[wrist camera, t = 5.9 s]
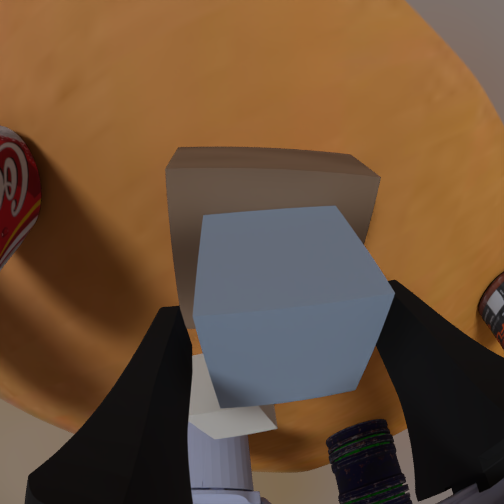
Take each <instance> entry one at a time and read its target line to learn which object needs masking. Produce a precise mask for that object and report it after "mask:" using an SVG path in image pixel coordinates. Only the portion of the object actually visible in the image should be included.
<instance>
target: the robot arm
mask: <svg viewBox="0 0 504 504" xmlns="http://www.w3.org/2000/svg"><path fill="white" fill-rule="evenodd" d="M388 282H389V284H390V286H391V287H392V289H393V290H394V292H395V295H394V298H393V300H392V303H391V306H390V309H389V312H388V314H387V317H386V320H385V322H384V325H383V328H382V330H381V333H380V335H379V338H378V340H377V343H376V346H377V349H378V351H379V353H380V356H381V358H382V360H383V362H384V365H385V367H386V369H387V371H388V374H389V376H390V378H391V380H392V383H393V385H394V387H395V390H396V392H397V394H398V397H399V400H400V402H401V405H402V409H403V412H404V416H405V420H406V424H407V428H408V433H409V437H410V442H411V448H412V454H413V462H414V472H415V493H416V497H417V500H418V501H422V500H424V499H427V498H430V497H432V496H435V495H437V494H440V493H442V492H444V491H446V490H448V489H450V488H452V491H453V495H451V496H450V497H448V498H446V499H444V500H442V501H440V502H439V503H437V504H504V358H503V357H501V356H499V355H497V354H496V353H494V352H492V351H490V350H489V349H487V348H486V347H484V346H482V345H481V344H479V343H478V342H476V341H475V340H473V339H472V338H470V337H469V336H467V335H466V334H464V333H463V332H462V331H460V330H459V329H458V328H456V327H455V326H454V325H452V324H451V323H450V322H448V321H447V320H446V319H444V318H443V317H442V316H441V315H439V314H438V313H437V312H436V311H434V310H433V309H432V308H431V307H429V306H428V305H427V304H426V303H425V302H423V301H422V300H421V299H420V298H418V297H417V296H416V295H415V294H413V293H412V292H411V291H410V290H408V289H407V288H406V287H404V286H403V285H402V284H400V283H399V282H398V281H396V280H391V281H388ZM192 373H193V369H192V344H191V341H190V338H189V335H188V332H187V329H186V326H185V323H184V319H183V316H182V313H181V310H180V307H179V306H172V307H161V308H160V309H159V311H158V313H157V315H156V317H155V318H154V320H153V322H152V324H151V326H150V328H149V329H148V331H147V333H146V335H145V337H144V338H143V340H142V342H141V344H140V345H139V347H138V349H137V350H136V352H135V354H134V355H133V357H132V359H131V360H130V362H129V364H128V365H127V367H126V368H125V370H124V371H123V373H122V374H121V376H120V378H119V379H118V381H117V382H116V384H115V385H114V387H113V388H112V389H111V391H110V392H109V394H108V395H107V396H106V398H105V399H104V400H103V402H102V403H101V404H100V406H99V407H98V408H97V409H96V411H95V412H94V413H93V414H92V415H91V417H90V418H89V419H88V420H87V421H86V422H85V424H84V425H83V426H82V427H81V428H80V429H79V430H78V431H77V432H76V434H75V435H74V436H73V437H72V438H71V439H69V441H68V442H66V443H65V445H63V446H62V447H61V448H60V450H58V451H57V452H56V453H55V454H54V455H53V456H52V457H50V458H49V460H47V461H46V462H45V463H43V464H42V465H41V466H40V467H38V468H37V469H36V470H35V471H33V472H32V473H31V474H30V475H29V476H28V481H27V488H26V496H25V504H271V503H270V502H269V501H268V500H267V499H266V498H264V497H260V492H259V491H254V490H253V482H252V471H251V462H250V452H249V442H248V434H247V435H241V436H235V437H229V438H221V439H213V438H212V437H210V436H209V435H207V434H206V433H204V432H203V431H201V430H200V429H199V428H197V427H196V426H194V425H193V424H192V423H190V422H189V421H188V419H189V407H190V396H191V384H192Z"/></svg>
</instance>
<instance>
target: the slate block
mask: <svg viewBox="0 0 504 504" xmlns="http://www.w3.org/2000/svg"><path fill="white" fill-rule="evenodd" d="M394 295H395V292H394V290H393V289H392V287H391V286H390V284H389V282H388V281H387V279H386V278H385V276H384V275H383V273H382V272H381V270H380V268H379V267H378V265H377V264H376V262H375V261H374V259H373V258H372V256H371V255H370V253H369V252H368V250H367V249H366V248H365V246H364V245H363V243H362V242H361V240H360V239H359V237H358V236H357V234H356V233H355V232H354V230H353V229H352V227H351V226H350V225H349V223H348V222H347V220H346V219H345V218H344V216H343V215H342V214H341V212H340V211H339V210H338V208H337V207H336V206H317V207H301V208H285V209H271V210H258V211H245V212H233V213H222V214H211V215H203V221H202V229H201V237H200V246H199V255H198V264H197V274H196V284H195V295H194V306H193V320H194V323H195V327H196V331H197V334H198V338H199V341H200V345H201V348H202V351H203V355H204V358H205V362H206V365H207V368H208V371H209V375H210V378H211V381H212V384H213V387H214V390H215V393H216V397H217V400H218V403H219V406H220V408H236V407H249V406H260V405H269V404H277V403H285V402H292V401H299V400H306V399H312V398H318V397H323V396H329V395H334V394H339V393H344V392H348V391H353V390H355V389H356V387H357V385H358V383H359V381H360V379H361V377H362V375H363V373H364V370H365V368H366V366H367V364H368V361H369V359H370V357H371V355H372V352H373V350H374V347H375V345H376V343H377V340H378V338H379V335H380V333H381V330H382V328H383V325H384V322H385V320H386V317H387V314H388V312H389V309H390V306H391V303H392V300H393V298H394Z"/></svg>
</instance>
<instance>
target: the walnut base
mask: <svg viewBox="0 0 504 504" xmlns="http://www.w3.org/2000/svg"><path fill="white" fill-rule="evenodd" d="M165 171H166V187H167V200H168V212H169V223H170V234H171V243H172V252H173V261H174V269H175V277H176V284H177V291H178V298H179V305H180V310H181V313H182V316H183V319H184V323H185V326H186V328H188V329H196V327H195V323H194V320H193V306H194V295H195V284H196V274H197V264H198V255H199V246H200V237H201V229H202V221H203V215H211V214H222V213H233V212H245V211H258V210H271V209H285V208H301V207H317V206H336V207H337V208H338V210H339V211H340V212H341V214H342V215H343V216H344V218H345V219H346V220H347V222H348V223H349V225H350V226H351V227H352V229H353V230H354V232H355V233H356V234H357V236H358V237H359V239H360V240H361V242H362V243H363V245H364V242H365V238H366V235H367V231H368V228H369V224H370V220H371V216H372V212H373V208H374V204H375V200H376V196H377V192H378V187H379V183H380V178H381V177H380V176H378V175H377V174H376V173H375V172H373V171H372V170H371V169H369V168H368V167H367V166H365V165H364V164H363V163H361V162H360V161H359V160H357V159H356V158H355V157H353V156H352V155H350V154H342V153H332V152H322V151H310V150H297V149H281V148H260V147H178V149H177V150H176V152H175V154H174V155H173V157H172V159H171V160H170V162H169V164H168V165H167V167H166V169H165Z"/></svg>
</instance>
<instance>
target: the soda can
mask: <svg viewBox="0 0 504 504" xmlns="http://www.w3.org/2000/svg"><path fill="white" fill-rule="evenodd" d="M40 206H41V184H40V177H39V173H38V169H37V166H36V163H35V161H34V158H33V156H32V154H31V152H30V150H29V148H28V147H27V145H26V144H25V142H24V141H23V140H22V139H21V138H20V137H19V136H18V135H17V134H16V133H15V132H14V131H12V130H10V129H8V128H7V127H3V126H0V270H1V269H2V268H3V266H4V265H5V264H6V263H7V261H8V260H9V259H10V257H11V256H12V255H13V253H14V252H15V251H16V250H17V248H18V247H19V246H20V245H21V243H22V242H23V240H24V239H25V237H26V236H27V234H28V233H29V231H30V230H31V228H32V227H33V225H34V224H35V222H36V220H37V217H38V215H39V211H40Z"/></svg>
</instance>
